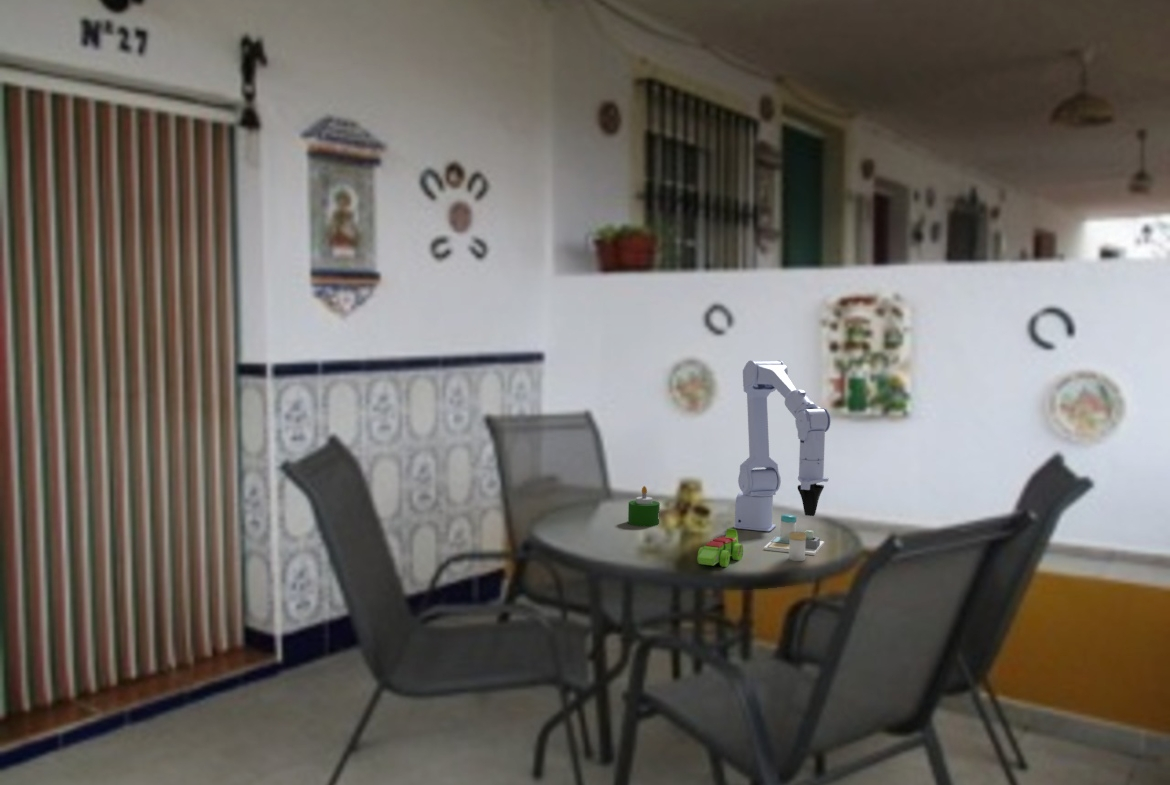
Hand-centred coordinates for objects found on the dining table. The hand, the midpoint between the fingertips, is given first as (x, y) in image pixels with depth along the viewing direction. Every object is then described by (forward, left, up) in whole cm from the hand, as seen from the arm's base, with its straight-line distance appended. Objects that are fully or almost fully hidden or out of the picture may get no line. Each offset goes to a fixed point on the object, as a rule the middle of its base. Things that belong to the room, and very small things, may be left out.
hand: (809, 515), depth 238 cm
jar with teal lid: (-6, +4, -8) cm, 10 cm away
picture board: (-4, +1, -8) cm, 9 cm away
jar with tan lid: (-1, -11, -8) cm, 14 cm away
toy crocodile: (-16, -21, -9) cm, 28 cm away
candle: (-46, +10, -9) cm, 48 cm away
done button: (0, 0, -6) cm, 6 cm away
